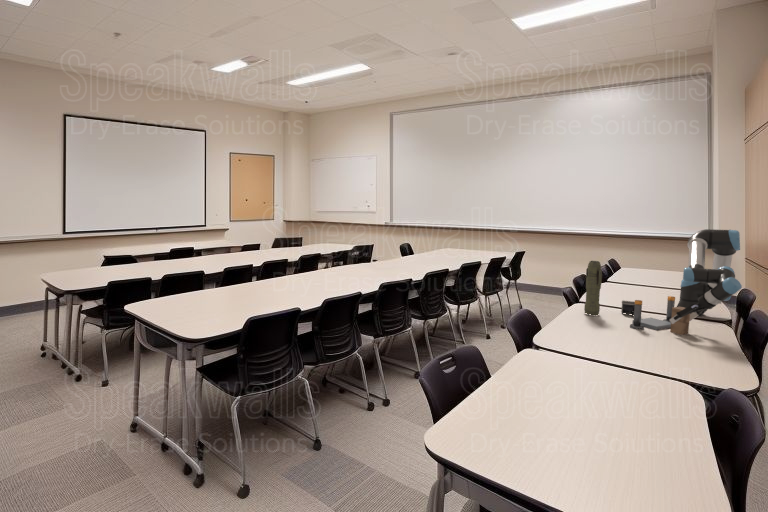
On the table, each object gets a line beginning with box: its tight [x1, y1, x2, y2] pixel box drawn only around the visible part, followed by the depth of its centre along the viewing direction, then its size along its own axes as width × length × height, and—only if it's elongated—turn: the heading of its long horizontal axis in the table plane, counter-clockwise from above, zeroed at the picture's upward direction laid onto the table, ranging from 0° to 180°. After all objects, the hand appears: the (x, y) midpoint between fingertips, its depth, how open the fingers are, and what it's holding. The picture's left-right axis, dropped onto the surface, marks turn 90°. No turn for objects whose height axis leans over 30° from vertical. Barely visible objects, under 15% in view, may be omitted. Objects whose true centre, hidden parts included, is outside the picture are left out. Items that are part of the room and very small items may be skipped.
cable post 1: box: [629, 299, 645, 330], centre depth 253 cm, size 7×7×16 cm
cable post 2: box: [662, 295, 676, 322], centre depth 263 cm, size 7×7×16 cm
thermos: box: [583, 260, 603, 315], centre depth 282 cm, size 9×12×35 cm
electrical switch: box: [620, 299, 635, 316], centre depth 283 cm, size 9×5×9 cm, turn 57°
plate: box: [632, 317, 671, 331], centre depth 259 cm, size 16×15×2 cm
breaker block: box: [669, 306, 690, 336], centre depth 243 cm, size 6×7×14 cm
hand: (679, 320), depth 243 cm, fingers open, 13 cm apart
